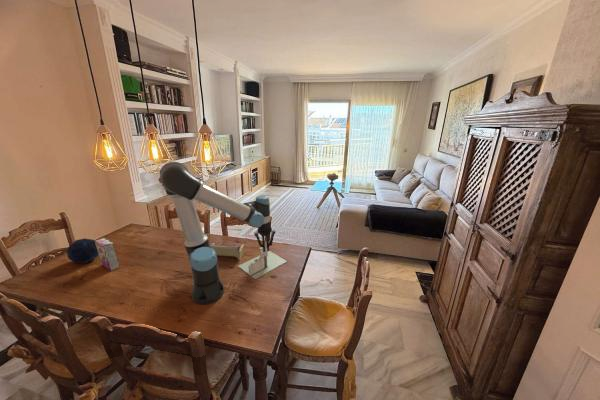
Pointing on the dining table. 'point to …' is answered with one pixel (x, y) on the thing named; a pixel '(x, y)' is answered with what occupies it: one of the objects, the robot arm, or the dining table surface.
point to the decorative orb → (82, 251)
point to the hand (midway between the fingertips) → (266, 255)
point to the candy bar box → (107, 254)
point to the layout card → (272, 263)
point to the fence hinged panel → (262, 253)
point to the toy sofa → (228, 250)
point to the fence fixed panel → (258, 265)
